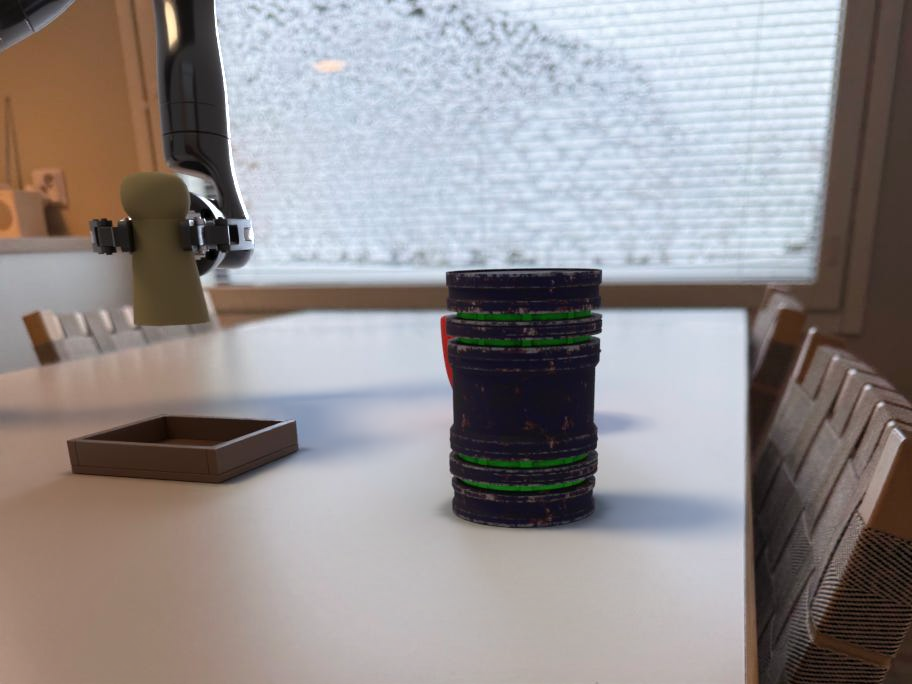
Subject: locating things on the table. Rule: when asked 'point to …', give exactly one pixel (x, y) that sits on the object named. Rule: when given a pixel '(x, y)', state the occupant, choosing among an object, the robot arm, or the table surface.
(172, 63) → the robot arm
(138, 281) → the olive green pepper mill
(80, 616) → the table surface
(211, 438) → the serving tray
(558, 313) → the storage jar
